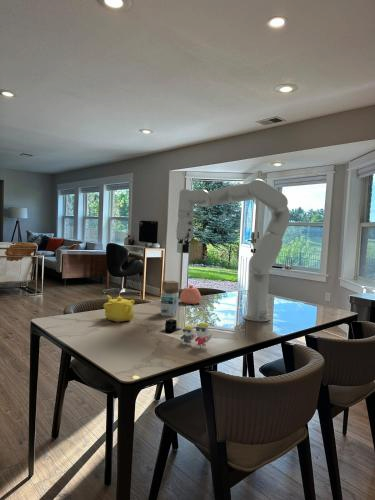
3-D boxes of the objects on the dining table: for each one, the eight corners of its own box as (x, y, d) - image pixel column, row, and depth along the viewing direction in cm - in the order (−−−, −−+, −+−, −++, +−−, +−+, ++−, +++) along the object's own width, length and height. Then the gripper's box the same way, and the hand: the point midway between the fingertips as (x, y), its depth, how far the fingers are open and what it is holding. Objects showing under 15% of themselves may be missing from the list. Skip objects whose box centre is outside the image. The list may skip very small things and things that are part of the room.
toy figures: (178, 343, 130) (179, 320, 129) (185, 340, 133) (186, 318, 133) (206, 350, 123) (208, 326, 122) (213, 347, 127) (214, 324, 126)
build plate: (169, 336, 139) (170, 324, 139) (154, 333, 143) (154, 321, 142) (185, 329, 150) (186, 318, 149) (171, 326, 153) (171, 316, 153)
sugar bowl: (178, 304, 198) (179, 286, 197) (180, 300, 212) (180, 282, 211) (201, 305, 197) (201, 287, 197) (200, 301, 211) (201, 283, 211)
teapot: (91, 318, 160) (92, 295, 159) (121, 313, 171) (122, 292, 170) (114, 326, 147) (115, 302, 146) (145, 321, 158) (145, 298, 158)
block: (178, 292, 173) (178, 282, 173) (166, 293, 171) (167, 282, 170) (173, 290, 179) (173, 280, 178) (162, 291, 176) (162, 280, 176)
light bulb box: (173, 316, 169) (174, 294, 169) (160, 315, 171) (161, 293, 170) (178, 311, 180) (179, 290, 179) (165, 310, 181) (166, 289, 181)
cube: (188, 253, 175) (189, 244, 175) (180, 253, 173) (181, 243, 173) (184, 252, 179) (185, 243, 179) (176, 252, 177) (177, 243, 177)
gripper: (200, 215, 170) (197, 254, 170) (184, 215, 184) (181, 251, 185) (186, 214, 166) (184, 253, 167) (171, 214, 181) (168, 250, 182)
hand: (182, 251), depth 176 cm, fingers closed on cube, 4 cm apart
